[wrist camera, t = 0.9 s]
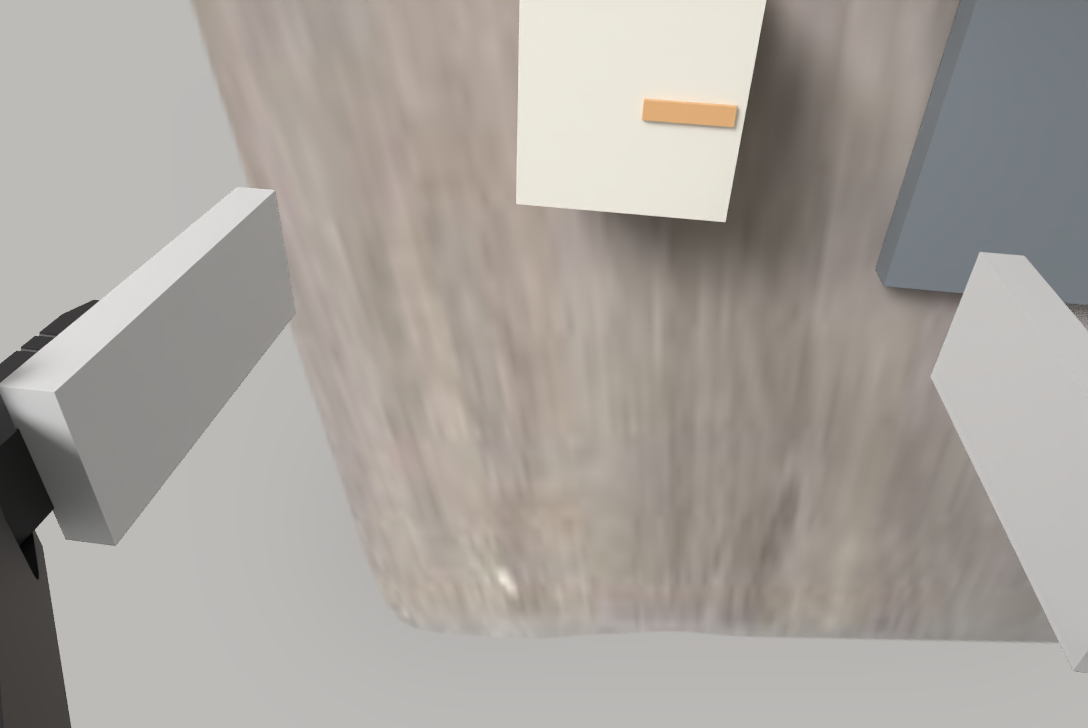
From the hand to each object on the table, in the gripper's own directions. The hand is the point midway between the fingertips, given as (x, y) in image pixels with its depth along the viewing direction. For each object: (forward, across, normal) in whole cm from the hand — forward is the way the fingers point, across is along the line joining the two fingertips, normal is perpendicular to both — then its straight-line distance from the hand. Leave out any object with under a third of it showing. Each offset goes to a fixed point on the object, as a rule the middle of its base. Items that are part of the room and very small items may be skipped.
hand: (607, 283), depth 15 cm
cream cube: (+18, 0, 0) cm, 18 cm away
